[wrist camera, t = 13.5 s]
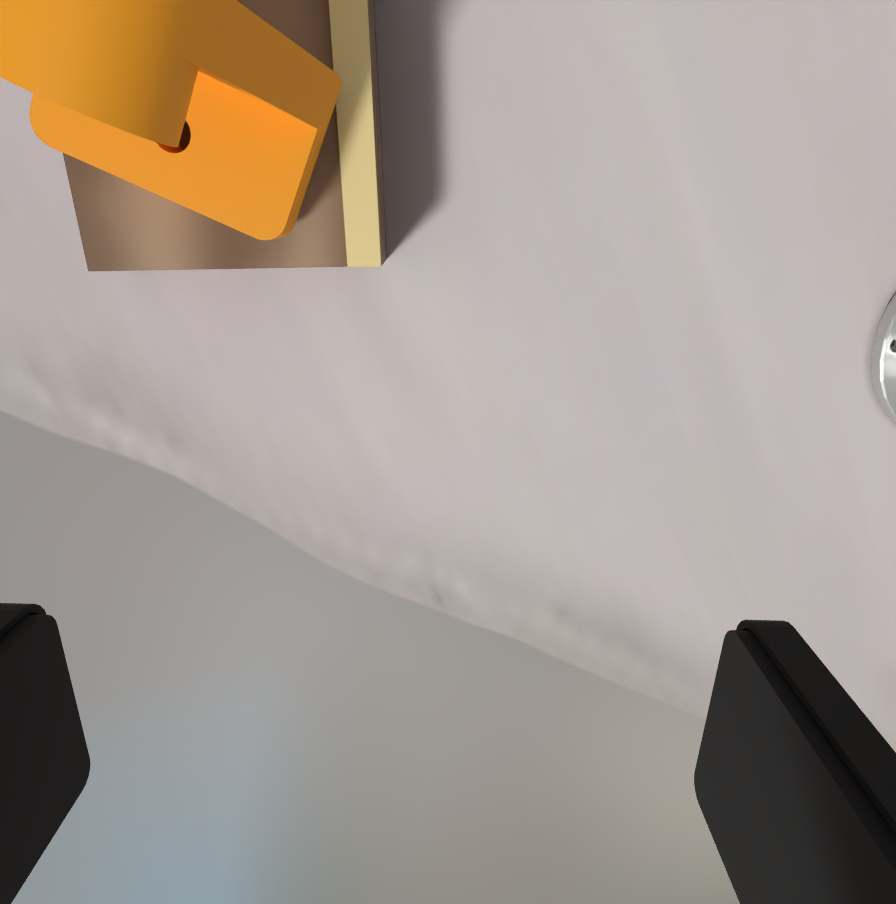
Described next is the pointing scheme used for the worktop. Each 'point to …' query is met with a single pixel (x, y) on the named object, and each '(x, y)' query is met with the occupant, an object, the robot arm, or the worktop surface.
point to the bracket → (176, 100)
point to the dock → (328, 193)
